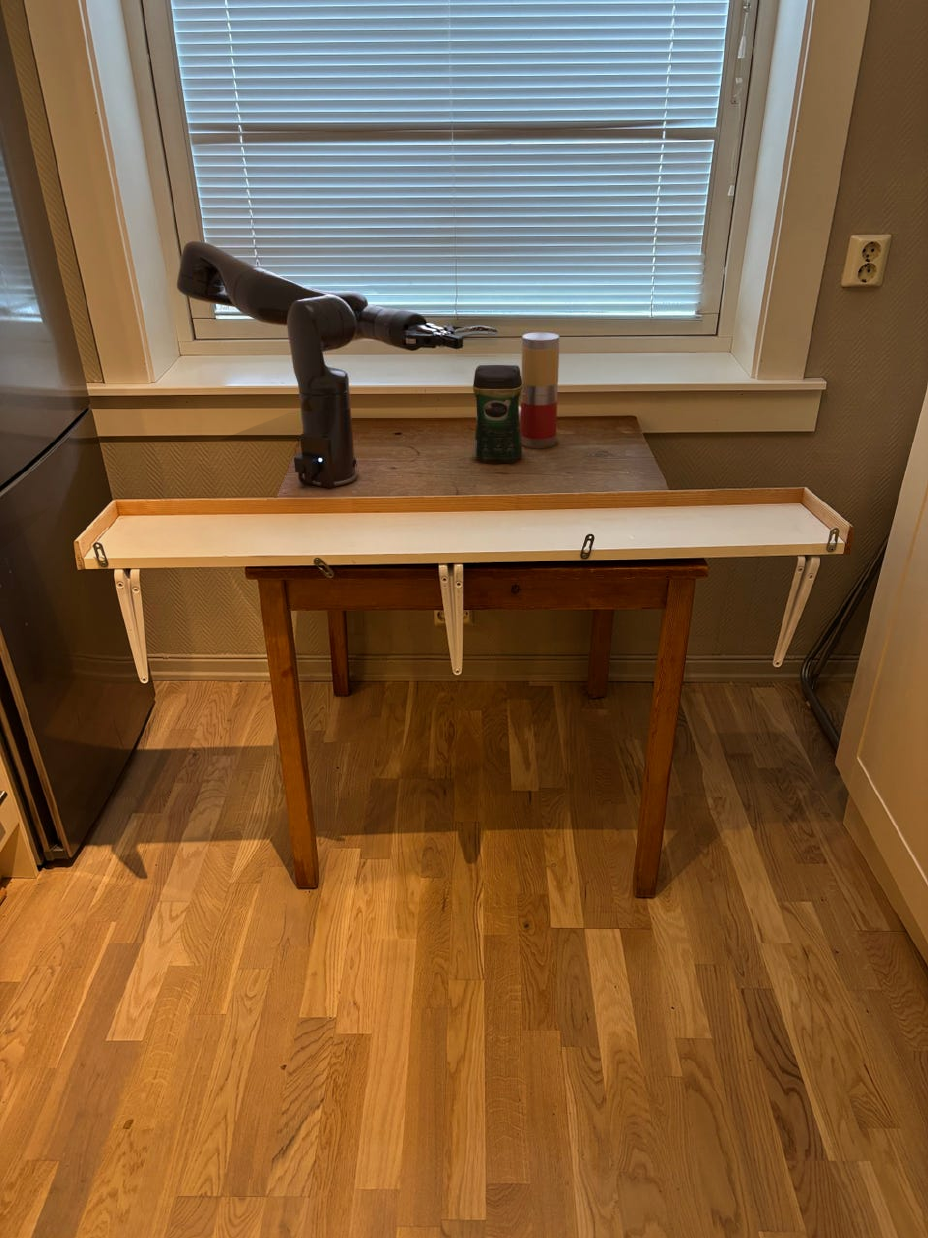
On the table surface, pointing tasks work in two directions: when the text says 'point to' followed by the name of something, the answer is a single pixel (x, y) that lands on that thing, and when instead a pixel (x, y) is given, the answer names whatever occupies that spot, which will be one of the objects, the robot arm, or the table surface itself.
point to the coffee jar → (497, 413)
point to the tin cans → (539, 389)
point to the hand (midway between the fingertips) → (460, 343)
